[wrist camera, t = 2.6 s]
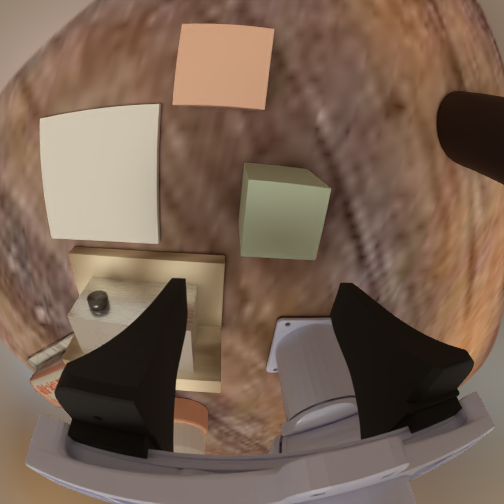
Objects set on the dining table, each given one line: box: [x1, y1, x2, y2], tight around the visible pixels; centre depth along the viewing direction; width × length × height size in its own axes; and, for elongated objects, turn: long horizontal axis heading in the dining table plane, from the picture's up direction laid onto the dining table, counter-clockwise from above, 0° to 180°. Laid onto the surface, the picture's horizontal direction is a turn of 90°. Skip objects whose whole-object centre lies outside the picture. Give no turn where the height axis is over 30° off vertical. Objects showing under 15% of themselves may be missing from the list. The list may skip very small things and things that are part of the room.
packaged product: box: [27, 333, 74, 408], centre depth 26 cm, size 18×5×10 cm
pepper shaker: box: [173, 398, 208, 455], centre depth 24 cm, size 7×7×19 cm
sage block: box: [238, 162, 331, 260], centre depth 17 cm, size 4×4×5 cm
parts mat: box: [40, 104, 162, 244], centre depth 17 cm, size 10×10×1 cm
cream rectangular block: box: [68, 276, 198, 372], centre depth 19 cm, size 9×5×5 cm, turn 84°
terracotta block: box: [173, 24, 274, 111], centre depth 13 cm, size 4×4×5 cm
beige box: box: [62, 247, 225, 393], centre depth 19 cm, size 13×8×7 cm, turn 84°
